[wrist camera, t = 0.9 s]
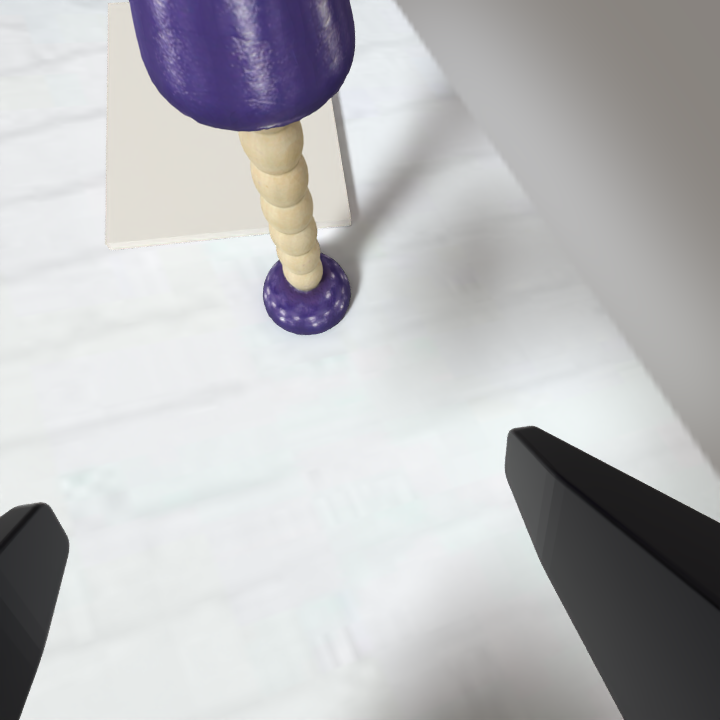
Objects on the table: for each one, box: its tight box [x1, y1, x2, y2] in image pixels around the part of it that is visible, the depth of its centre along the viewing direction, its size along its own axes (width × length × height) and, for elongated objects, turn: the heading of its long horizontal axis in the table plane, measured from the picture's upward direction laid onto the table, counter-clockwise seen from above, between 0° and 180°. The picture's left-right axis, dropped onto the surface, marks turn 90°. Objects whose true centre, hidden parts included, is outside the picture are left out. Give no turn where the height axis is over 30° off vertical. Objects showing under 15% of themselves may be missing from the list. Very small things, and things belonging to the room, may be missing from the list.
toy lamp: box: [129, 0, 355, 335], centre depth 14 cm, size 5×5×17 cm
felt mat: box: [105, 2, 351, 250], centre depth 25 cm, size 16×12×1 cm
